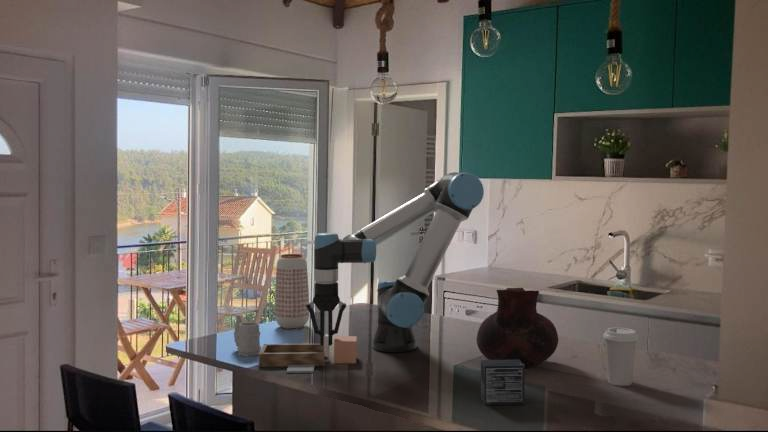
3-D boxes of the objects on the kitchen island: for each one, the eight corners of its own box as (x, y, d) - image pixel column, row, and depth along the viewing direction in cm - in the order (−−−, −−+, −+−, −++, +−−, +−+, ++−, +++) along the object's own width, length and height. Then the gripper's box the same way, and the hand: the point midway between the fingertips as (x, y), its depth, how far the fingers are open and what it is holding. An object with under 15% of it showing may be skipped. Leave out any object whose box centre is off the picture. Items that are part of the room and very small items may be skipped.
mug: (246, 357, 225) (246, 321, 224) (225, 351, 233) (225, 315, 232) (265, 353, 230) (265, 317, 230) (244, 347, 238) (244, 312, 238)
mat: (314, 366, 215) (314, 364, 215) (313, 372, 208) (313, 370, 208) (288, 366, 214) (288, 364, 214) (286, 373, 207) (286, 371, 207)
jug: (558, 357, 226) (560, 280, 224) (556, 378, 202) (557, 293, 200) (482, 351, 233) (482, 277, 231) (470, 372, 208) (471, 289, 207)
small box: (519, 397, 185) (519, 358, 185) (525, 405, 179) (525, 365, 178) (480, 397, 185) (480, 358, 184) (484, 405, 178) (484, 365, 178)
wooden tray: (326, 355, 227) (326, 343, 227) (324, 365, 215) (324, 353, 215) (264, 356, 227) (264, 344, 226) (258, 366, 214) (258, 353, 214)
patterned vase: (272, 324, 274) (271, 253, 273) (305, 322, 278) (305, 252, 277) (277, 331, 262) (277, 257, 260) (312, 329, 266) (312, 256, 264)
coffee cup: (609, 375, 205) (610, 325, 204) (642, 381, 199) (643, 330, 198) (596, 383, 198) (597, 331, 197) (630, 389, 192) (631, 336, 191)
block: (356, 357, 225) (356, 336, 225) (356, 363, 218) (356, 341, 218) (334, 357, 225) (334, 336, 224) (333, 363, 218) (334, 341, 217)
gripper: (347, 280, 224) (346, 352, 225) (306, 280, 223) (306, 352, 225) (346, 283, 216) (346, 358, 218) (304, 283, 216) (304, 358, 217)
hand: (326, 355), depth 221 cm, fingers closed
